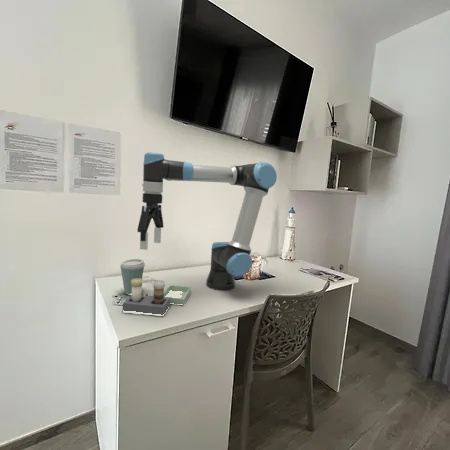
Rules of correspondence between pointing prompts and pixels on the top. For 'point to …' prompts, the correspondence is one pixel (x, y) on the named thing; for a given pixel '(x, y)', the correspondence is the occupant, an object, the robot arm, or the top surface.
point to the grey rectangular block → (146, 305)
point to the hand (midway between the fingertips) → (150, 245)
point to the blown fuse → (158, 292)
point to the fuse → (136, 289)
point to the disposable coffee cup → (131, 272)
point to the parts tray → (185, 294)
